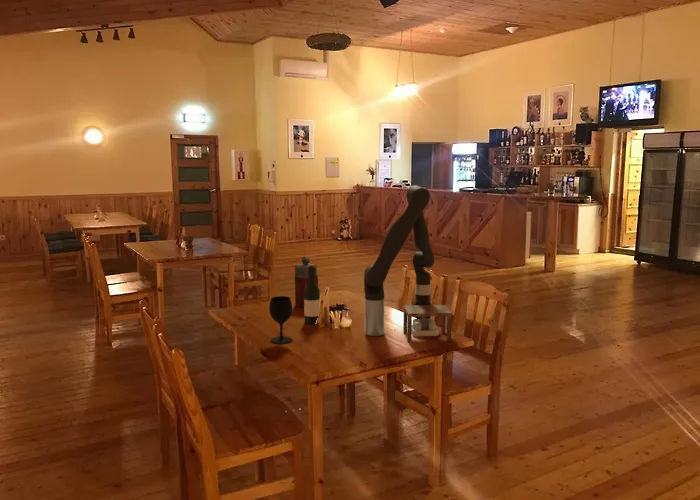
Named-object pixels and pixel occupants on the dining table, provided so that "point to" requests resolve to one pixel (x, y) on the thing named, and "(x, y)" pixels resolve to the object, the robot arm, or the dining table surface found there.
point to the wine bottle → (311, 298)
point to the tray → (424, 327)
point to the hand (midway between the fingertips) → (422, 326)
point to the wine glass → (281, 316)
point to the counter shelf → (427, 312)
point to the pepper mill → (302, 280)
